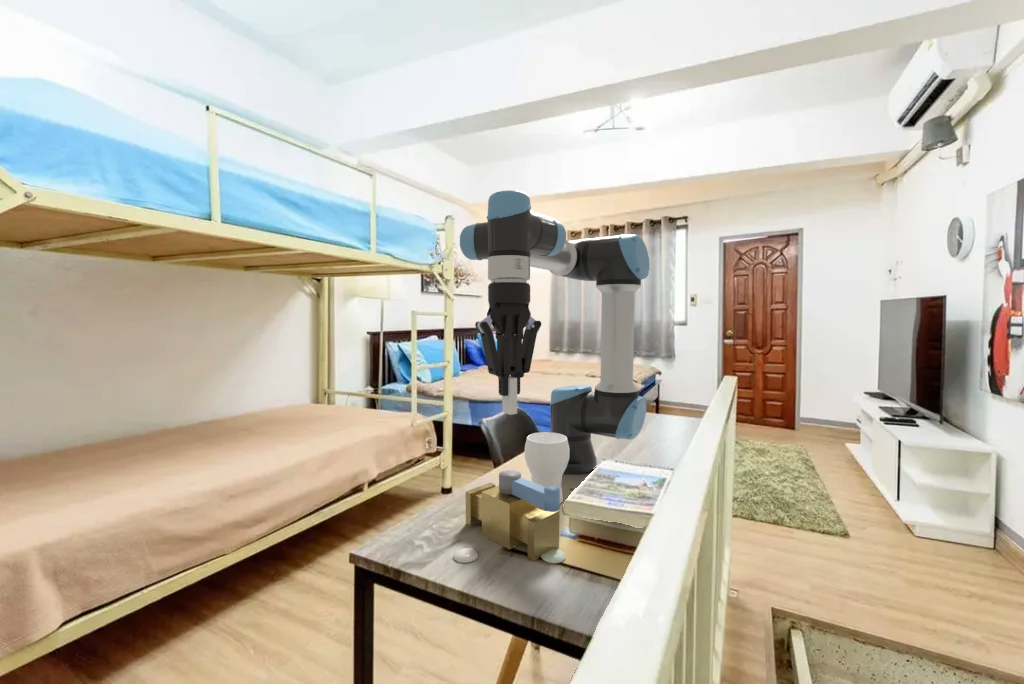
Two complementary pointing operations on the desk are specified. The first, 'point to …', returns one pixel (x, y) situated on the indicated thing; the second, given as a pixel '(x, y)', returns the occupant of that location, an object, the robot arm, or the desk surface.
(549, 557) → the pale green round dome
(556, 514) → the valve body
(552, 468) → the cup
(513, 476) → the lever
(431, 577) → the desk surface
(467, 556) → the white domed disc
